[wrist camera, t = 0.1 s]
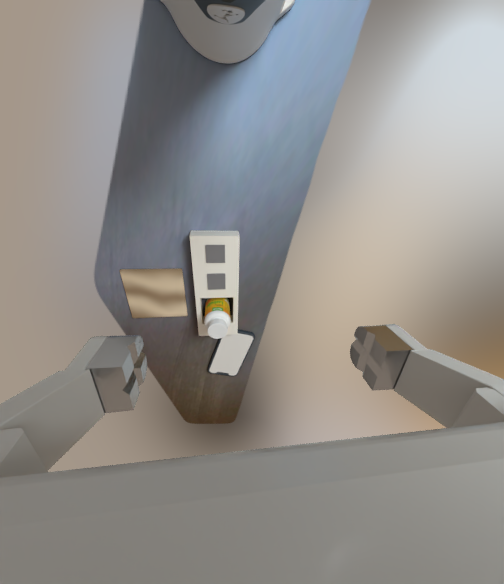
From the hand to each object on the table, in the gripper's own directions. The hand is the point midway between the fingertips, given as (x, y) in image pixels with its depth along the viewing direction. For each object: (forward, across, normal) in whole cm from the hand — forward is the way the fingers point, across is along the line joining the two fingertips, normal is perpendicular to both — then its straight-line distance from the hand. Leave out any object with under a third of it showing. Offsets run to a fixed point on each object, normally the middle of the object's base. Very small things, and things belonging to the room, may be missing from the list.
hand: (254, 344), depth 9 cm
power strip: (+41, +2, +16) cm, 44 cm away
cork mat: (+41, +15, +18) cm, 47 cm away
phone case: (+43, -1, +37) cm, 57 cm away
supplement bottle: (+41, +2, +21) cm, 46 cm away
